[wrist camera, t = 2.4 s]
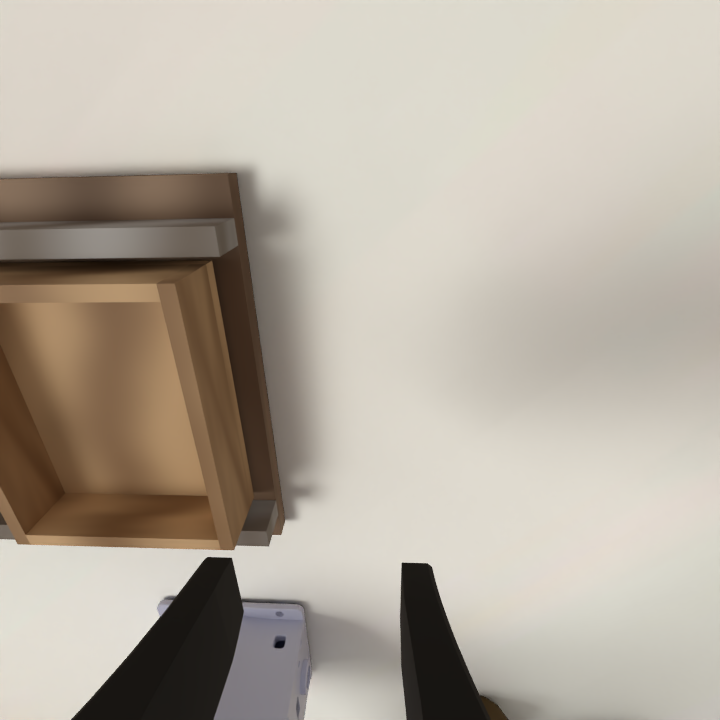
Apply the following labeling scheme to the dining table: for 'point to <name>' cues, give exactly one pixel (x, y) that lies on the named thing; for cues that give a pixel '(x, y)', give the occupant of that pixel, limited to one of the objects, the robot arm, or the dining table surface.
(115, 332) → the box
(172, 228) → the bay
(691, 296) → the dining table surface
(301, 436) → the dining table surface
